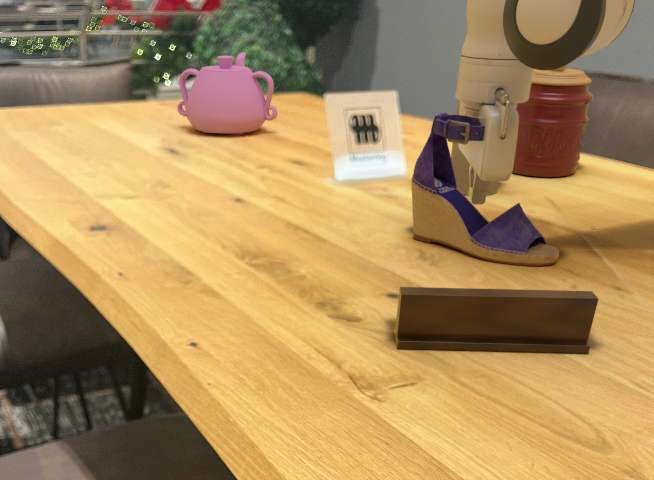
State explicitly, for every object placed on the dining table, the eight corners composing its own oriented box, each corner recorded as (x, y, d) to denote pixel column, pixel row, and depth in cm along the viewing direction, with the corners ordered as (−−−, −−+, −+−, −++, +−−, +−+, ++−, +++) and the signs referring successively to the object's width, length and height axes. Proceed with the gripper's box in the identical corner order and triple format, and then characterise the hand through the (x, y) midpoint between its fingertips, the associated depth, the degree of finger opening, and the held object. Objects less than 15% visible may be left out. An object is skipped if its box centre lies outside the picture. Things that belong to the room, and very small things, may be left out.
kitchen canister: (534, 158, 142) (555, 49, 131) (592, 172, 133) (619, 56, 123) (485, 167, 136) (502, 52, 126) (542, 182, 127) (565, 60, 117)
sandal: (535, 274, 90) (564, 135, 81) (397, 239, 101) (409, 113, 92) (566, 258, 95) (596, 125, 86) (431, 226, 105) (445, 106, 97)
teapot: (290, 122, 171) (291, 51, 163) (267, 140, 154) (267, 62, 146) (197, 117, 175) (194, 48, 167) (164, 135, 158) (159, 58, 150)
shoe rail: (577, 336, 75) (589, 287, 72) (588, 354, 72) (602, 302, 69) (393, 332, 76) (398, 282, 73) (397, 349, 72) (402, 298, 69)
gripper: (539, 96, 84) (516, 224, 92) (504, 73, 101) (487, 183, 109) (482, 95, 84) (463, 223, 92) (456, 73, 101) (442, 183, 109)
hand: (476, 201), depth 101 cm, fingers closed
